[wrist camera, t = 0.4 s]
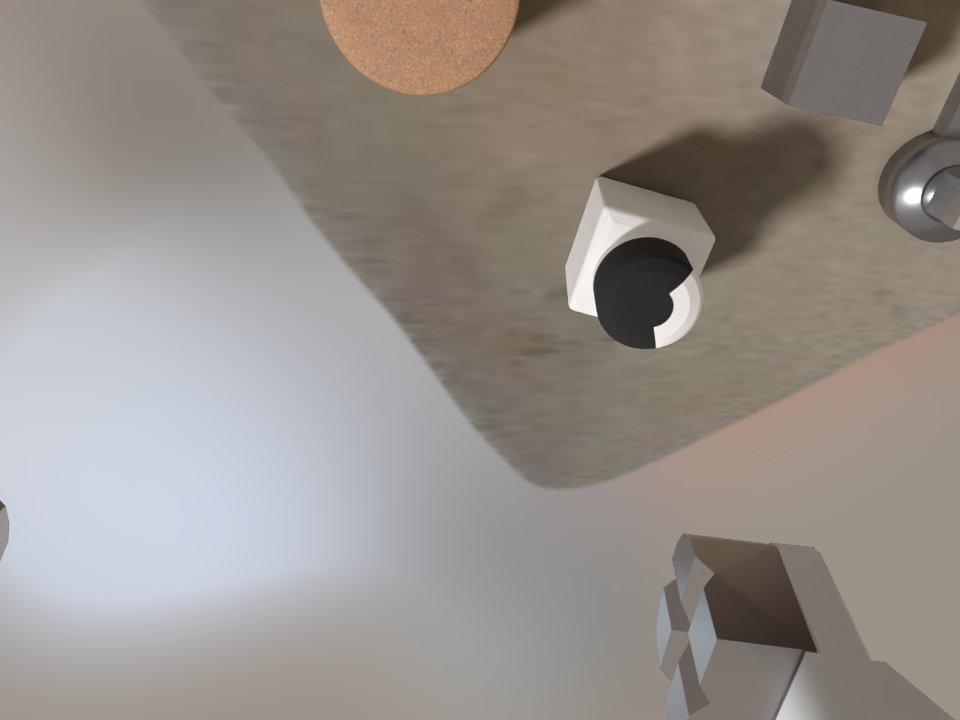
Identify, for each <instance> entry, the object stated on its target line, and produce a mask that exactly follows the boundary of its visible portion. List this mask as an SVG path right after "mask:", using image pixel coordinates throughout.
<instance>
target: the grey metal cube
mask: <svg viewBox="0 0 960 720" xmlns="http://www.w3.org/2000/svg"><path fill="white" fill-rule="evenodd" d="M927 23H928V22H924V21H920V20H915V19H911V18H907V17H902V16H898V15H894V14H889V13H885V12H880V11H876V10H872V9H867V8H863V7H859V6H854V5H850V4H846V3H841V2H837V1H833V0H792V2H791V5H790V8H789V11H788V13H787V16H786V19H785V22H784V25H783V27H782V30H781V33H780V36H779V38H778V41H777V44H776V47H775V50H774V52H773V55H772V58H771V61H770V63H769V66H768V69H767V72H766V74H765V77H764V80H763V83H762V86H761V88H762V89H763V90H765V91H767V92H768V93H770V94H771V95H773V96H774V97H776V98H778V99H779V100H781V101H782V102H784V103H786V104H787V105H790V106H795V107H799V108H804V109H808V110H812V111H817V112H821V113H826V114H830V115H835V116H839V117H844V118H848V119H853V120H857V121H861V122H866V123H870V124H875V125H879V126H882V124H883V122H884V120H885V117H886V115H887V113H888V111H889V108H890V106H891V104H892V102H893V99H894V97H895V95H896V93H897V90H898V88H899V86H900V84H901V81H902V79H903V77H904V75H905V72H906V70H907V68H908V66H909V63H910V61H911V59H912V57H913V54H914V52H915V50H916V47H917V45H918V43H919V41H920V38H921V36H922V34H923V32H924V29H925V27H926V25H927Z"/></svg>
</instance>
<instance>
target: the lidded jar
mask: <svg viewBox="0 0 960 720" xmlns="http://www.w3.org/2000/svg"><path fill="white" fill-rule="evenodd" d="M519 4H520V0H320V5H321V8H322V12H323V16H324V19H325V22H326V24H327V26H328V29H329V31H330V33H331V36H332V37H333V39H334V40H335V42H336V44H337V45H338V47H339V49H340V50H341V51H342V53H343V54H344V55H345V56H346V58H347V59H348V60H349V61H350V63H352V64H353V65H354V66H355V67H356V68H357V69H358V70H359V71H360V72H361V73H362V74H364V75H365V76H367V77H368V78H370V79H371V80H373V81H374V82H376V83H378V84H380V85H382V86H384V87H386V88H388V89H391V90H394V91H398V92H401V93H404V94H412V95H436V94H440V93H445V92H450V91H452V90H455V89H457V88H460V87H462V86H464V85H466V84H468V83H469V82H471V81H473V80H474V79H476V78H477V77H478V76H480V75H481V74H482V73H483V72H484V71H486V70H487V69H488V68H489V67H490V66H491V64H492V63H493V62H494V61H495V60H496V59H497V58H498V56H499V55H500V53H501V52H502V50H503V48H504V47H505V45H506V44H507V42H508V40H509V38H510V35H511V33H512V31H513V28H514V26H515V22H516V18H517V15H518V11H519Z"/></svg>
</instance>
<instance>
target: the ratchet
mask: <svg viewBox="0 0 960 720" xmlns="http://www.w3.org/2000/svg"><path fill="white" fill-rule="evenodd" d="M878 196H879V201H880V204H881V207H882V208H883V210H884V212H885V213H886V214H887V216H889V217H890V218H891V219H892V220H893V221H894V222H896V223H897V224H898V225H900V226H901V227H902V228H904V229H905V230H906V231H908V232H909V233H910V234H912V235H913V236H915V237H916V238H919V239H921V240H924V241H928V242H948V241H953V240H956V239H960V74H959V76H958V78H957V80H956V82H955V84H954V86H953V88H952V90H951V93H950V95H949V97H948V99H947V101H946V103H945V105H944V107H943V109H942V112H941V114H940V116H939V118H938V120H937V122H936V124H935V126H934V128H933V130H932V132H930V133H926V134H923V135H920V136H918V137H916V138H914V139H912V140H910V141H909V142H907V143H905V144H904V145H903V146H902V147H900V148H899V149H898V150H897V151H896V152H895V153H894V154H893V155H892V157H891V158H890V159H889V161H888V162H887V164H886V165H885V167H884V169H883V171H882V174H881V176H880V180H879V186H878Z"/></svg>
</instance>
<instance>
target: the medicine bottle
mask: <svg viewBox="0 0 960 720" xmlns="http://www.w3.org/2000/svg"><path fill="white" fill-rule="evenodd" d="M714 242H715V236H714V234H713V233H712V231H711V229H710V228H709V226H708V225H707V223H706V221H705V220H704V218H703V216H702V215H701V213H700V212H699V210H698V208H697V207H696V205H695V204H694V203H692V202H689V201H685V200H682V199H678V198H675V197H671V196H668V195H664V194H661V193H657V192H654V191H650V190H647V189H643V188H640V187H636V186H633V185H629V184H626V183H622V182H619V181H615V180H612V179H608V178H605V177H598V178H596V180H595V182H594V185H593V188H592V191H591V194H590V197H589V200H588V203H587V206H586V208H585V211H584V214H583V217H582V220H581V223H580V226H579V229H578V232H577V235H576V237H575V240H574V243H573V246H572V249H571V252H570V255H569V258H568V261H567V264H566V267H565V270H566V281H567V292H568V303H569V307H570V309H572V310H574V311H578V312H582V313H585V314H589V315H593V316H596V317H598V319H599V321H600V323H601V325H602V327H603V328H604V330H605V331H606V332H607V333H608V334H609V335H610V336H611V337H612V338H613V339H615V340H616V341H618V342H619V343H621V344H624V345H626V346H629V347H632V348H638V349H654V348H659V347H663V346H666V345H669V344H671V343H673V342H675V341H677V340H678V339H680V338H681V337H683V336H684V335H685V334H686V333H687V332H688V331H689V330H690V329H691V328H692V327H693V326H694V324H695V323H696V321H697V319H698V317H699V315H700V313H701V310H702V305H703V288H702V285H701V281H700V279H699V277H700V274H701V272H702V270H703V267H704V265H705V263H706V261H707V258H708V256H709V254H710V251H711V249H712V247H713V245H714Z"/></svg>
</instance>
